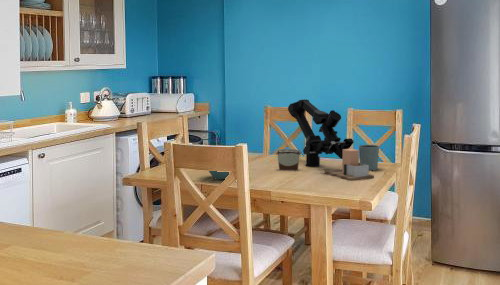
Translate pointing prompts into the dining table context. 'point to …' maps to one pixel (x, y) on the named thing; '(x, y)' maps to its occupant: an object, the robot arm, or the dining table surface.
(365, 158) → the grey embossed cylinder
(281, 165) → the food container
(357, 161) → the terracotta peg
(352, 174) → the grey block
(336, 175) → the walnut board
